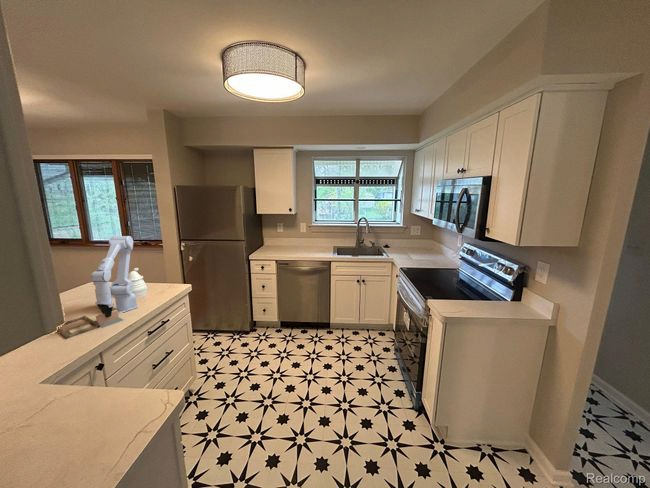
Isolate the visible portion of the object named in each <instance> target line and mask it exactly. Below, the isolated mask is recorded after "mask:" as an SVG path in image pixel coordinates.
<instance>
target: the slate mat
mask: <svg viewBox="0 0 650 488" xmlns="http://www.w3.org/2000/svg"><path fill="white" fill-rule="evenodd" d="M93 321H94V322H96V323H97V320H93ZM122 321H123V322H124V319H123V318H121V317H119V318H118V319H115V320H112V321H109V322H106V323H103V324H101V325H100V327H99V328H101V329H104V328H106V327H109V326H111V325H114V324H117V323H121V322H122Z"/></svg>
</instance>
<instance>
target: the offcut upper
mask: <svg viewBox="0 0 650 488" xmlns="http://www.w3.org/2000/svg"><path fill="white" fill-rule="evenodd" d="M86 324H87V323H86ZM83 325H84V324H83ZM80 326H81V325H80ZM77 327H78V326H77ZM91 327H93V325H90V324H87V325H84V326H81V327H78V328H75V327H74V328H75V329H72V328H71V329H72V330H70V331H69V333H68V334H69V335H71V334H73V333H76V332H79V331H82V330H85V329H88V328H91Z"/></svg>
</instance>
